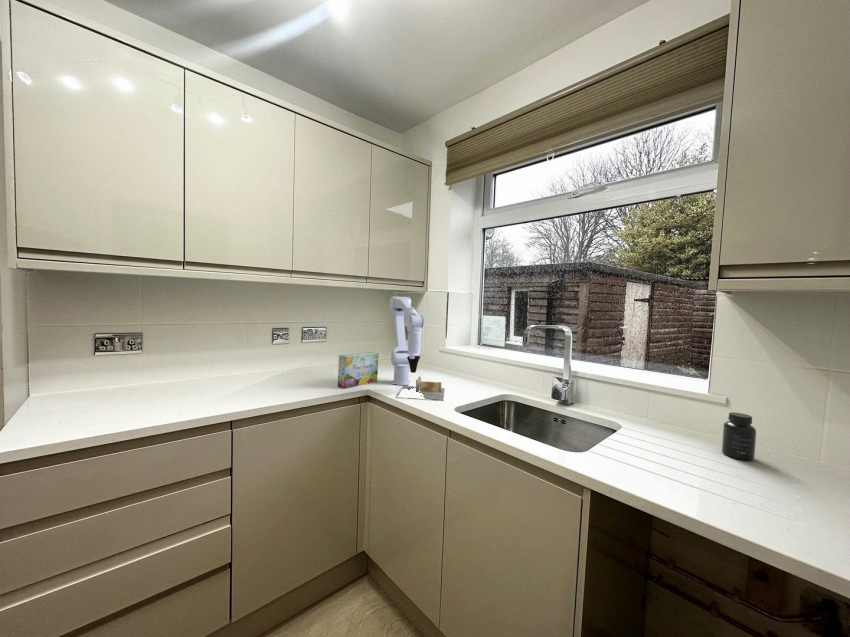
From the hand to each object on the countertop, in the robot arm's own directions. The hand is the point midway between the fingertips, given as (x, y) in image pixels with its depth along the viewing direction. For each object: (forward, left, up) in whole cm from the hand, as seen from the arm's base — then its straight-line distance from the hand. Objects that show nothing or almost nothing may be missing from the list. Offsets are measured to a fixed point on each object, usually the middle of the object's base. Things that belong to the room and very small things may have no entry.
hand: (413, 372), depth 152 cm
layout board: (0, +3, -9) cm, 10 cm away
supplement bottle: (+48, +99, -10) cm, 111 cm away
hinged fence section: (0, +8, -9) cm, 12 cm away
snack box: (-10, -28, -10) cm, 31 cm away
